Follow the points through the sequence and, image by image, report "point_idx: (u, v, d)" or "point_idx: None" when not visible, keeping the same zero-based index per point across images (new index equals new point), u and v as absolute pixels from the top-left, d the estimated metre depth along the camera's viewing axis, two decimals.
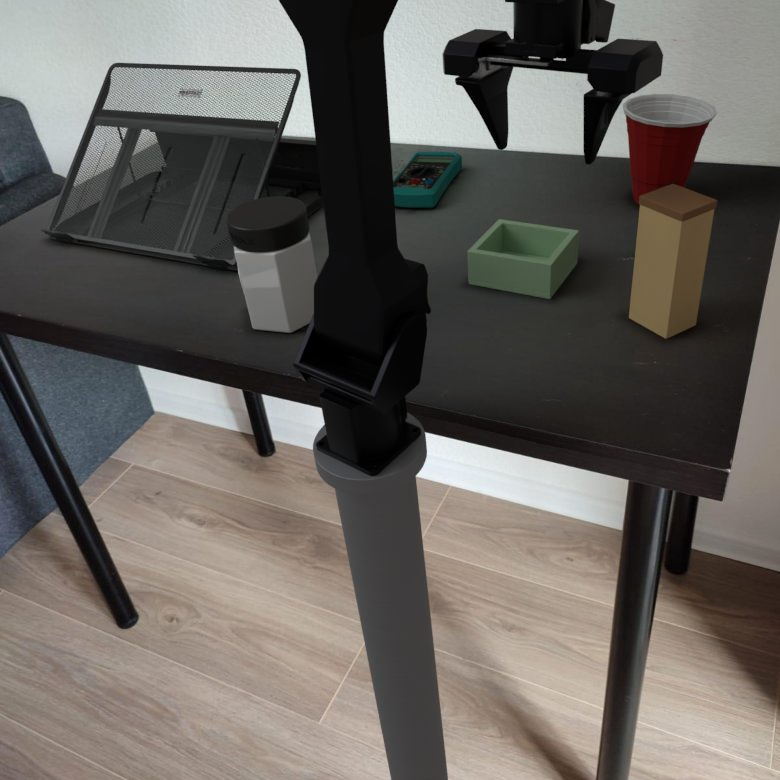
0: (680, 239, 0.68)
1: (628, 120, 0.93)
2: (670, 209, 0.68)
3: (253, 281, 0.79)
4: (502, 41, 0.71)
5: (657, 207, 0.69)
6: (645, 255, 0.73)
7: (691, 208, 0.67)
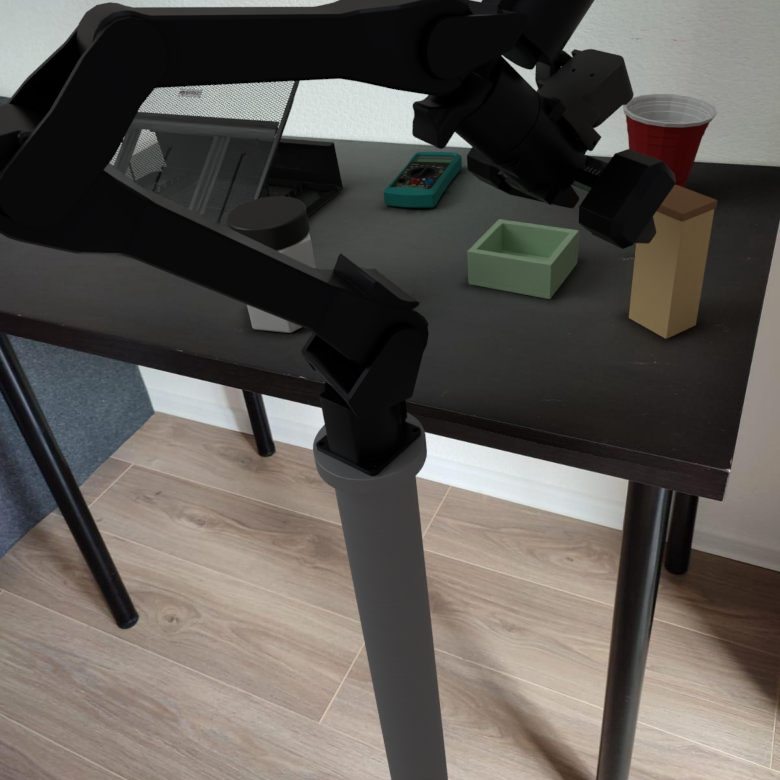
0: (680, 239, 0.68)
1: (628, 120, 0.93)
2: (670, 209, 0.68)
3: None
4: None
5: None
6: (645, 255, 0.73)
7: (691, 208, 0.67)
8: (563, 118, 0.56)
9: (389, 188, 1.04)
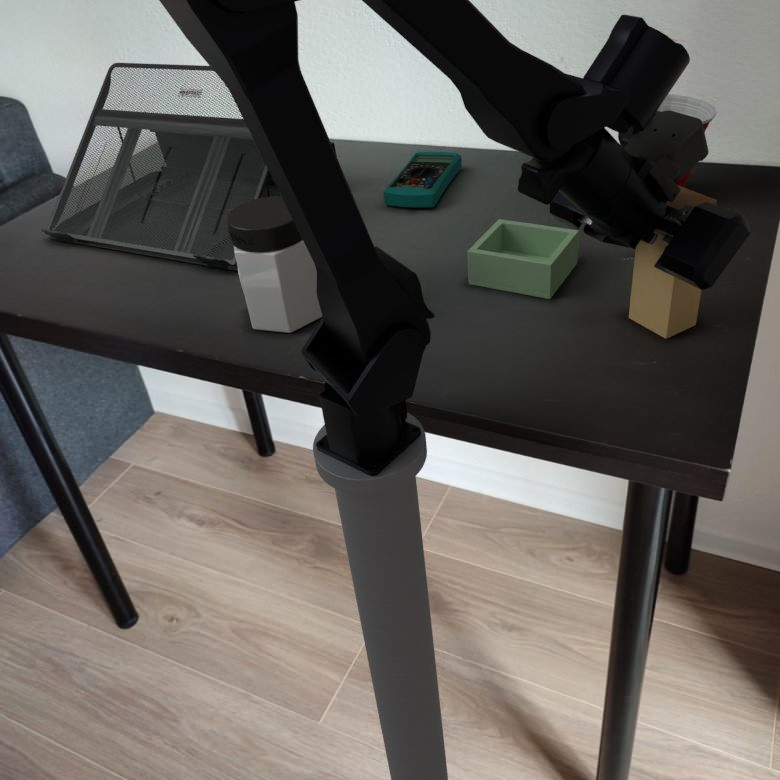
0: None
1: None
2: None
3: (253, 281, 0.79)
4: None
5: None
6: (645, 255, 0.73)
7: None
8: (649, 174, 0.63)
9: (389, 188, 1.04)
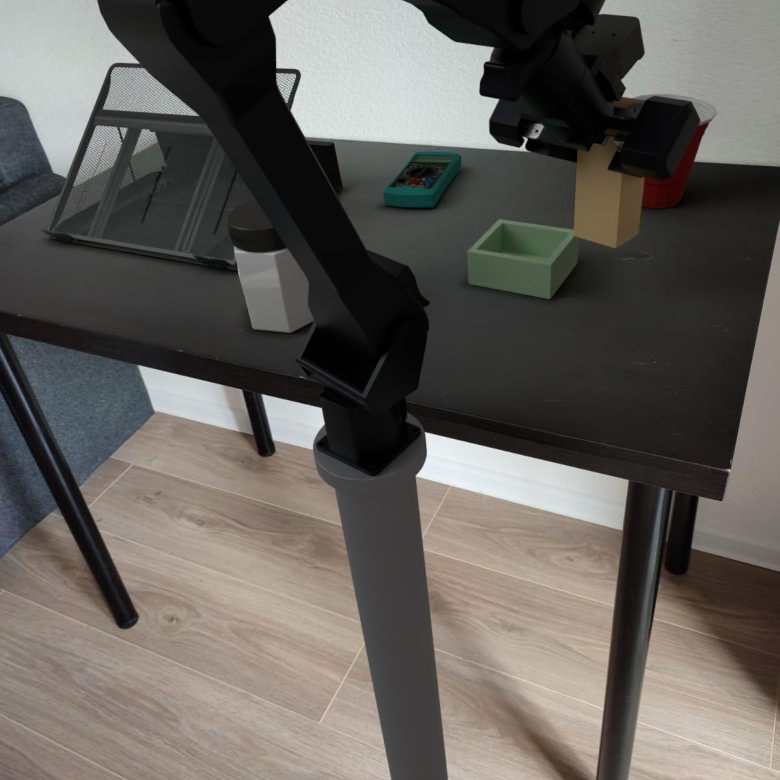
0: None
1: None
2: None
3: (253, 281, 0.79)
4: None
5: None
6: (587, 166, 0.73)
7: None
8: (599, 72, 0.63)
9: (389, 188, 1.04)
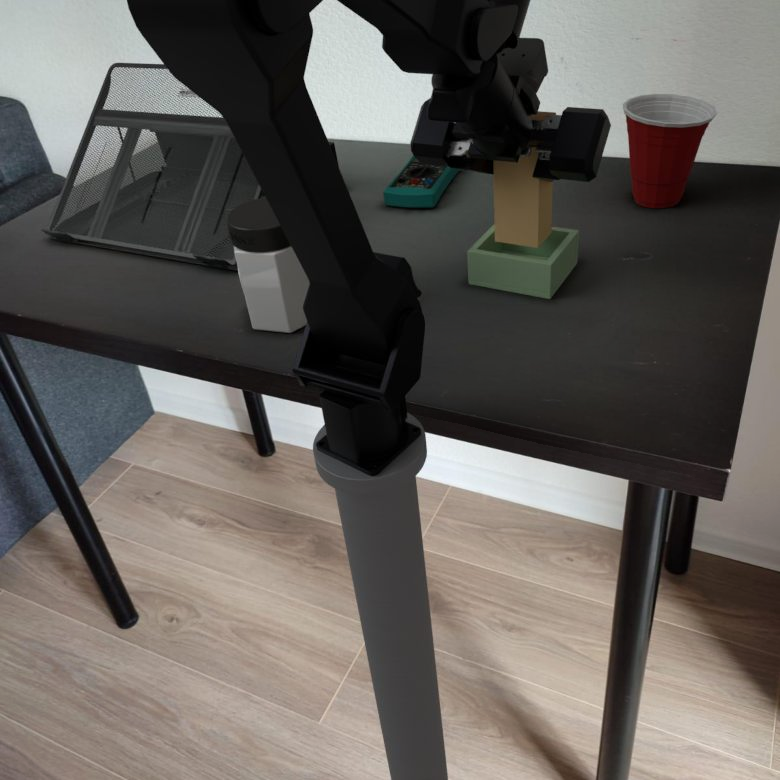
0: None
1: (628, 120, 0.93)
2: None
3: (253, 281, 0.79)
4: None
5: None
6: (504, 176, 0.79)
7: None
8: (520, 90, 0.69)
9: (389, 188, 1.04)
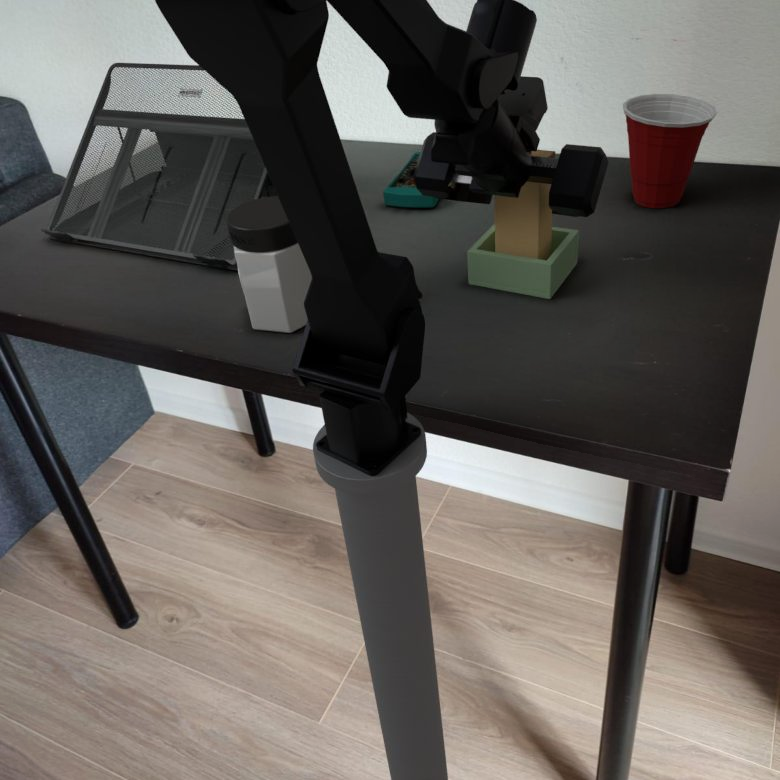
0: (539, 189, 0.79)
1: (628, 120, 0.93)
2: None
3: (253, 281, 0.79)
4: None
5: None
6: (505, 212, 0.82)
7: None
8: (520, 129, 0.71)
9: (389, 188, 1.04)
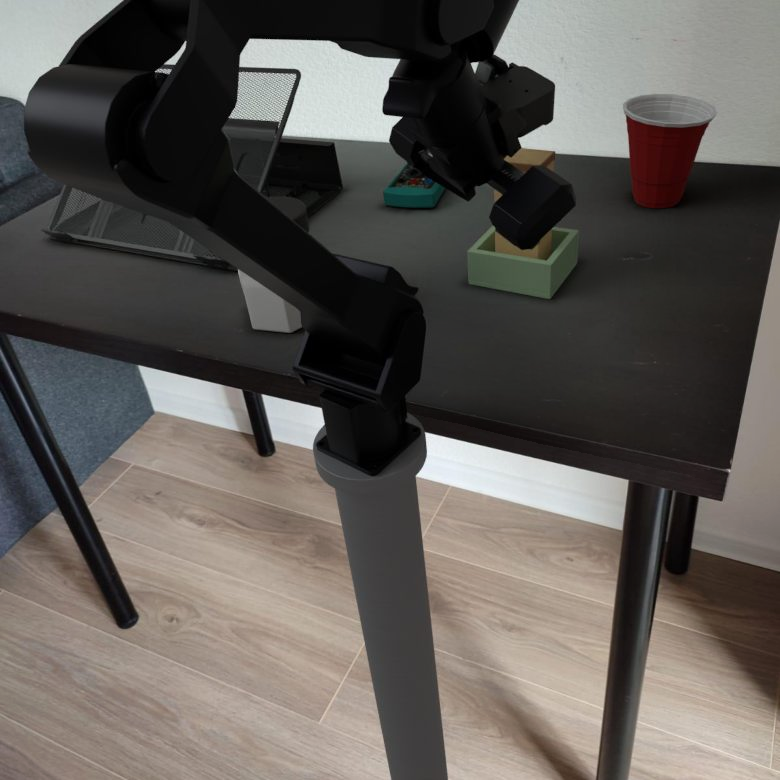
0: None
1: (628, 120, 0.93)
2: (526, 165, 0.78)
3: (253, 281, 0.79)
4: None
5: None
6: None
7: (542, 161, 0.78)
8: (497, 122, 0.62)
9: (389, 188, 1.04)
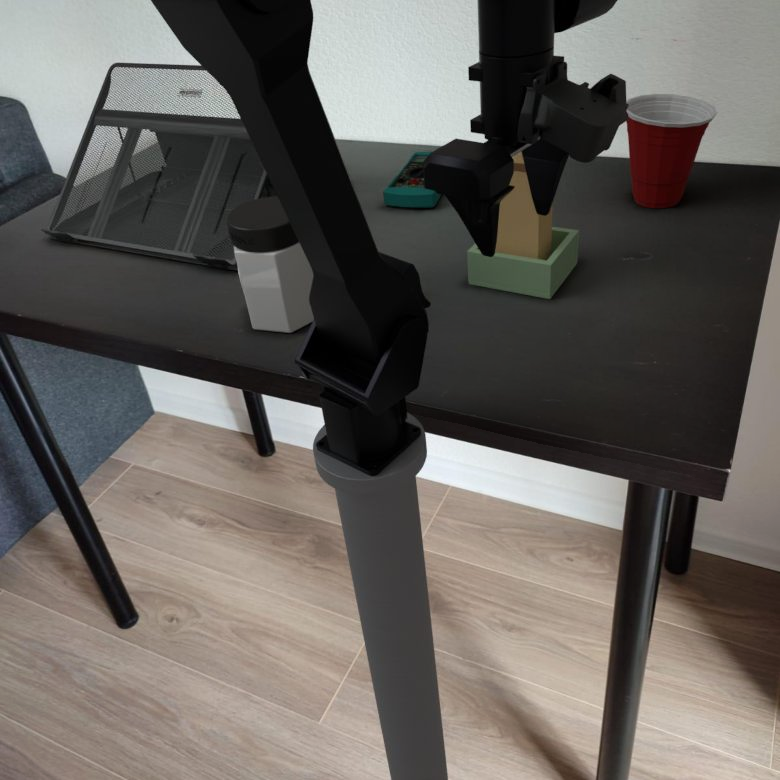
0: None
1: (628, 120, 0.93)
2: None
3: (253, 281, 0.79)
4: None
5: None
6: (505, 212, 0.82)
7: None
8: None
9: (389, 188, 1.04)
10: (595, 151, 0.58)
